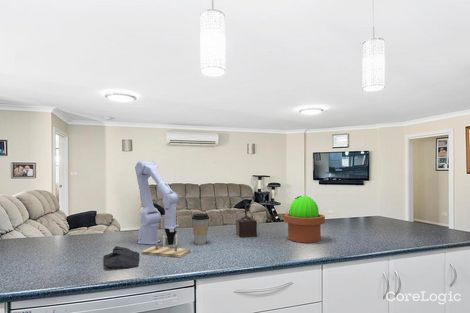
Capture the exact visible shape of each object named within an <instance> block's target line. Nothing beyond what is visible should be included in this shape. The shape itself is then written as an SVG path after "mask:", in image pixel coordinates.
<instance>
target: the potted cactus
mask: <svg viewBox="0 0 470 313" xmlns="http://www.w3.org/2000/svg"><path fill="white" fill-rule="evenodd" d="M289 206H290V207H289V212H288V213H285V214H283V222H284V223H287V237H288V240H290V241H292V242H295V241H296V242H297V243H301V242H303V244H313V243H312V242H314V243H318V242H320V241H321V238H322V236H321V235H322V234H321V233H322V232H321V231H322V230H321V225H323V224H325V223H326V217H325V215H324V214H320V213H319V212H320V211H319V210H320V209H319V207H318V204H317V202H316V201H315V200H314V199H312V197H310V196H308V195H304V196H303V195H298V196H297V197H295V198H294V199H293V200H292V202H291V203H290V205H289Z"/></svg>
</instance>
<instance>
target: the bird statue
mask: <svg viewBox="0 0 470 313" xmlns="http://www.w3.org/2000/svg"><path fill="white" fill-rule="evenodd" d="M244 207H245V208H244V210H243V211H242V212H243V213H244V216H242V217H240V218H236V219H235V234H236V236H237V237H238V238H243V239H244V238H256V237H258V230H257V229H258V228H257V226H258V224H257V220H256V219H255V218H254V217H252V215H251V216H249V215H247V214H248V213H247V212H251V207H252V206H251V204H250V203H245V205H244Z"/></svg>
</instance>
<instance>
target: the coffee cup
mask: <svg viewBox="0 0 470 313" xmlns="http://www.w3.org/2000/svg"><path fill="white" fill-rule="evenodd" d="M191 219H192V230H193V236H194V237H193V238H194V243H195V244H196V245H204V244H206V243H207V236H208V232H209V231H208V230H209V219H210V216H209V214H208V213H195V214H193V215H192V217H191Z"/></svg>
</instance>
